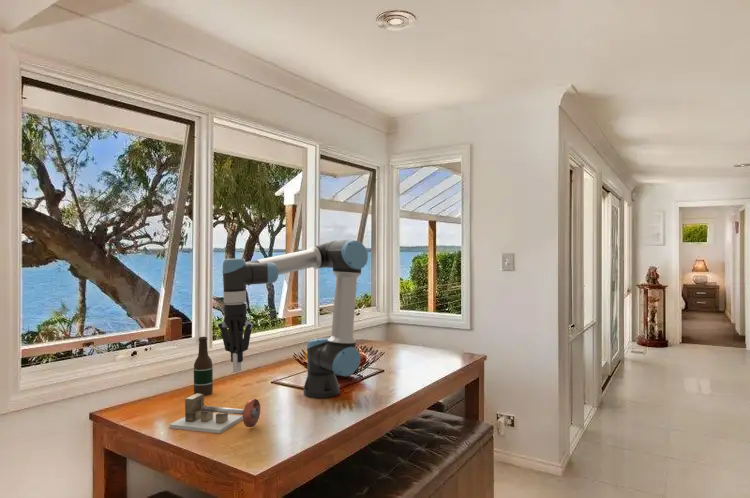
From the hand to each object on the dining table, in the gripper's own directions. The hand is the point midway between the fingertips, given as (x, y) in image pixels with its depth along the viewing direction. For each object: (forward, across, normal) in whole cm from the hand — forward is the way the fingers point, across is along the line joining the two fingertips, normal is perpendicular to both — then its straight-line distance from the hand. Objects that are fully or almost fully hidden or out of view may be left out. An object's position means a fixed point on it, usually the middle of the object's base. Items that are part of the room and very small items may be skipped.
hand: (237, 371), depth 168 cm
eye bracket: (+18, +12, +1) cm, 21 cm away
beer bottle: (+19, +36, -30) cm, 50 cm away
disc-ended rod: (+18, +3, +1) cm, 18 cm away
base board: (+19, +12, +1) cm, 22 cm away
